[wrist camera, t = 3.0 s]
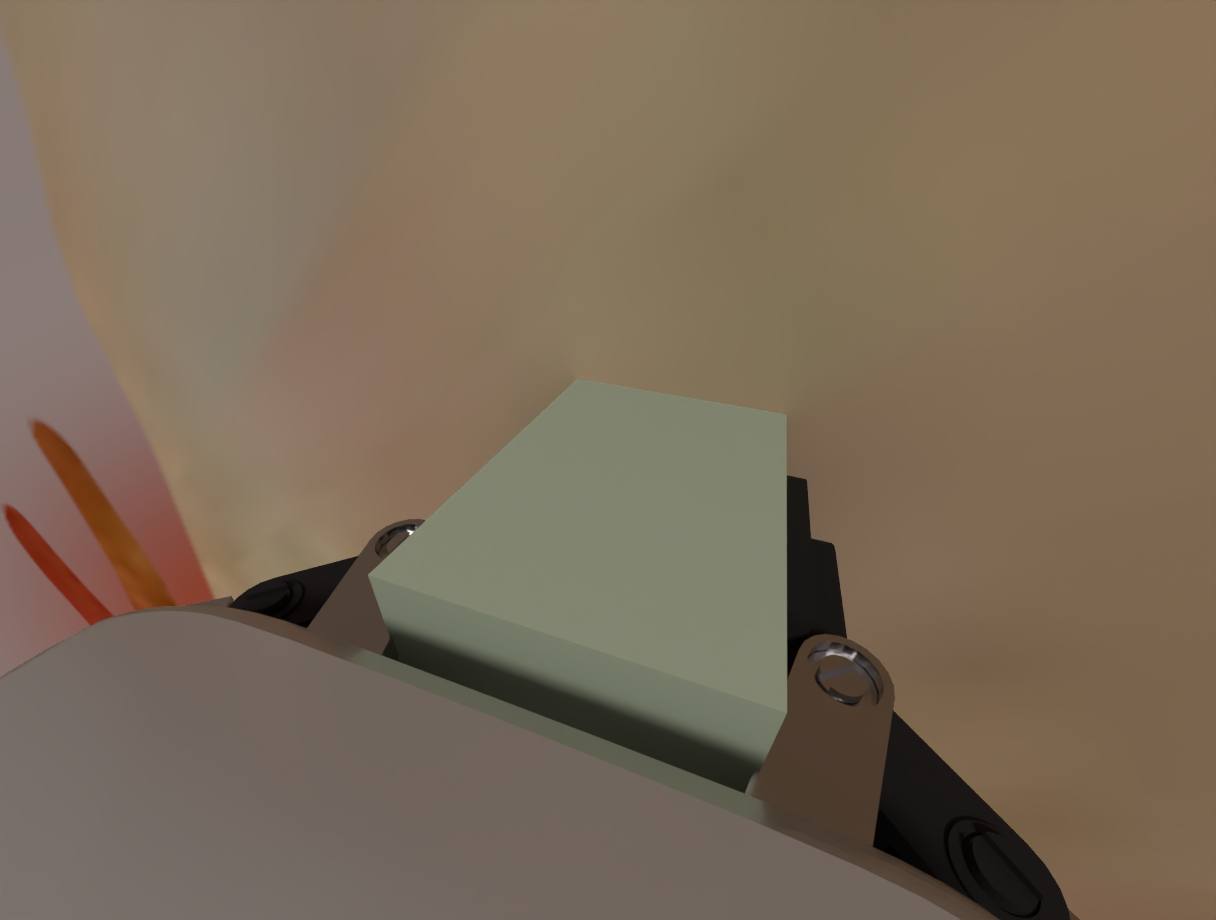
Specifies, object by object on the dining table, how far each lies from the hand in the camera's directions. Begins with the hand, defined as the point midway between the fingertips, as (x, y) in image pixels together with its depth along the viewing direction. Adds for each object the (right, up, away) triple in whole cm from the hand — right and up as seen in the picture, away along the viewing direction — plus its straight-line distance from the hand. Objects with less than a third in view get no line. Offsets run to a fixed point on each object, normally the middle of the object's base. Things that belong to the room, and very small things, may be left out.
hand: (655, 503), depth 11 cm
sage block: (0, +1, +1) cm, 1 cm away
